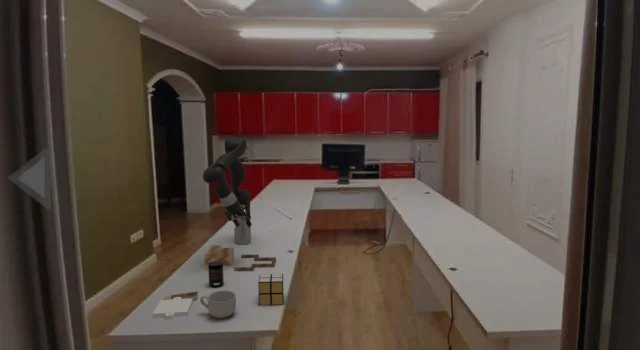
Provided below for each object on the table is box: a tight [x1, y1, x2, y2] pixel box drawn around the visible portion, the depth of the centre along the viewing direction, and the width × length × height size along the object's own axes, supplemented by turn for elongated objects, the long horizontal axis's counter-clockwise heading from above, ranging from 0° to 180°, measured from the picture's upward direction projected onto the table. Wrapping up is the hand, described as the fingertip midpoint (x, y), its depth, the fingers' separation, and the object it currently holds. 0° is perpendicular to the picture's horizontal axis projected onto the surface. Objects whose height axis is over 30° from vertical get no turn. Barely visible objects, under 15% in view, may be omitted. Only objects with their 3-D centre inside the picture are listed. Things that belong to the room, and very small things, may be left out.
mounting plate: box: [152, 296, 194, 321], centre depth 173 cm, size 18×13×2 cm
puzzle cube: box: [257, 272, 285, 306], centre depth 181 cm, size 10×10×10 cm
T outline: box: [233, 254, 277, 272], centre depth 230 cm, size 20×23×2 cm
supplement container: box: [207, 261, 225, 288], centre depth 198 cm, size 7×7×10 cm
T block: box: [204, 244, 235, 270], centre depth 229 cm, size 13×16×8 cm
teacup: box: [199, 289, 237, 319], centre depth 168 cm, size 14×11×8 cm
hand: (244, 226), depth 226 cm, fingers open, 8 cm apart
